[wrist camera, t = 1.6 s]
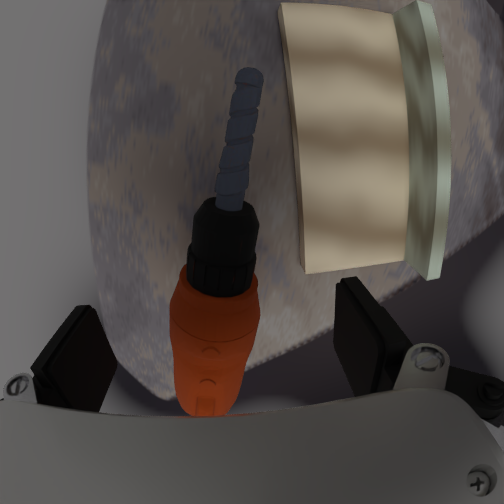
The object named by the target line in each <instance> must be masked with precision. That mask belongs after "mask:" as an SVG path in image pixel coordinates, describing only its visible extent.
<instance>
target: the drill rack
mask: <svg viewBox="0 0 504 504" xmlns="http://www.w3.org/2000/svg"><path fill="white" fill-rule="evenodd" d="M277 13H278V19H279V26H280V33H281V40H282V47H283V54H284V62H285V70H286V79H287V87H288V96H289V106H290V115H291V125H292V136H293V148H294V160H295V172H296V186H297V202H298V218H299V238H300V261H301V266H302V268H303V270H304V272H305V274H312V273H319V272H327V271H334V270H341V269H348V268H355V267H362V266H369V265H376V264H383V263H389V262H396V261H402V260H404V261H405V262H407V263H408V264H409V265H410V266H411V267H412V268H413V269H415V270H416V271H417V272H418V273H419V274H420V275H421V276H422V277H424V278H425V279H426V280H431V279H436V278H439V277H440V272H441V266H442V261H443V254H444V248H445V240H446V233H447V224H448V214H449V202H450V185H451V126H450V110H449V98H448V88H447V80H446V73H445V66H444V60H443V54H442V48H441V43H440V38H439V34H438V29H437V25H436V21H435V17H434V13H433V9H432V6H431V4H428V3H425V2H421V1H418V0H416V1H414V2H412V3H411V4H409V5H407V6H405V7H404V8H402V9H400V10H399V11H397V12H395V13H394V14H388V13H383V12H378V11H373V10H367V9H360V8H353V7H346V6H337V5H326V4H312V3H281V4H280V7H279V9H278V12H277Z"/></svg>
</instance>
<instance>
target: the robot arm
mask: <svg viewBox="0 0 504 504" xmlns="http://www.w3.org/2000/svg"><path fill="white" fill-rule="evenodd" d="M333 343H334V348H335V351H336V353H337V356H338V358H339V360H340V363H341V365H342V367H343V370H344V372H345V374H346V377H347V379H348V381H349V384H350V386H351V389H352V390H353V393H354V396H355V397H353V398H348V399H342V400H337V401H332V402H327V403H321V404H316V405H310V406H303V407H296V408H290V409H282V410H275V411H266V412H257V413H248V414H247V413H246V414H234V415H216V416H138V415H122V414H110V413H99V411H100V408H101V406H102V403H103V400H104V398H105V395H106V393H107V390H108V388H109V386H110V383H111V381H112V378H113V376H114V374H115V371H116V369H117V360H116V357H115V355H114V353H113V351H112V348H111V346H110V344H109V342H108V339H107V337H106V334H105V332H104V330H103V327H102V325H101V322H100V320H99V317H98V315H97V312H96V310H95V309H94V308H92V307H91V306H90V305H80V306H76V307H75V309H74V310H73V311H72V312H71V313H70V315H69V316H68V317H67V319H66V320H65V321H64V322H63V324H62V325H61V326H60V327H59V329H58V330H57V331H56V333H55V334H54V335H53V337H52V338H51V339H50V341H49V342H48V343H47V345H46V346H45V348H44V349H43V350H42V352H41V353H40V355H39V356H38V357H37V359H36V360H35V362H34V363H33V365H32V366H31V370H32V372H33V373H34V377H33V378H32V377H31V375H29V374H27V373H20V374H17V375H15V376H13V377H12V378H10V379H9V380H8V381H7V383H6V384H5V386H4V390H3V395H4V398H3V399H1V400H0V504H504V382H503V381H501V380H500V379H498V378H495V377H491V376H487V375H483V374H479V373H475V372H471V371H467V370H464V369H460V368H456V367H452V366H449V357H448V354H447V353H446V352H445V351H444V350H443V349H442V348H440V347H439V346H436V345H433V344H427V343H423V344H417V345H415V346H413V345H412V343H411V342H410V340H409V339H408V338H407V336H406V335H405V334H404V332H403V331H402V330H401V329H400V327H399V326H398V325H397V323H396V322H395V321H394V320H393V318H392V317H391V316H390V314H389V313H388V312H387V311H386V309H385V308H384V307H382V306H380V305H379V304H378V302H377V301H376V300H375V299H374V297H373V296H372V295H371V294H370V292H369V291H368V290H367V289H366V287H365V286H364V285H363V284H362V282H361V281H360V280H359V279H358V277H356V276H355V277H348V278H342V279H341V281H340V283H337V284H336V297H335V320H334V338H333Z"/></svg>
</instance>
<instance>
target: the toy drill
mask: <svg viewBox="0 0 504 504" xmlns="http://www.w3.org/2000/svg"><path fill="white" fill-rule="evenodd" d="M263 82H264V79H263V75H262V73H261V72H260V71H259V70H257V69H255V68H250V67H247V68H243V69H241V70H240V71H239V72H238V73H237V75H236V78H235V84H236V85H237V87H236V90H235V92H234V93H233V95H232V100H231V105H230V112H229V115H230V116H231V119H229V120H228V124H227V130H226V136H225V142H226V143H227V145H226V146H225V147H224V149H223V152H222V156H221V160H220V164H219V168H220V173H219V174H218V175H217V180H216V185H215V192H216V193H217V194H216V197H213V198H209V199H207V200H205V201H204V202H203V204H202V205H201V207H200V208H199V209H198V211H197V212H196V214H195V215H194V220H193V232H192V243H191V244H190V245H189V247H188V252H187V264H185V265H184V266H183V268H182V270H181V272H180V276H179V281H178V283H177V286H176V289H175V291H174V294H173V296H172V298H171V301H170V339H171V344H172V350H173V357H174V383H175V391H176V396H177V398H178V400H179V402H180V405H181V407H182V408H183V409H184V411H185V412H187V413H188V414H190V415H192V416H216V415H225V414H226V413H227V412H228V411H229V409H230V408H231V407H232V405H233V404H234V402H235V400H236V398H237V395H238V393H239V389H240V386H241V382H242V378H243V374H244V369H245V366H246V362H247V359H248V357H249V354H250V352H251V350H252V347H253V345H254V340H255V336H256V332H257V328H258V324H259V320H260V307H259V300H258V294H257V287H258V280H257V277H256V275H255V274H254V269H255V264H256V253H255V246H256V241H257V235H258V230H259V222H258V219H257V216H256V213H255V210H254V208H253V206H252V205H250V204H249V203H247V202H245V201H244V195H245V190H246V189H247V187H248V183H249V163H248V162H249V161H250V157H251V151H252V145H253V136H252V134H254V132H255V127H256V123H257V118H258V109H257V107H258V106H259V104H260V98H261V92H262V86H263Z"/></svg>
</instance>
